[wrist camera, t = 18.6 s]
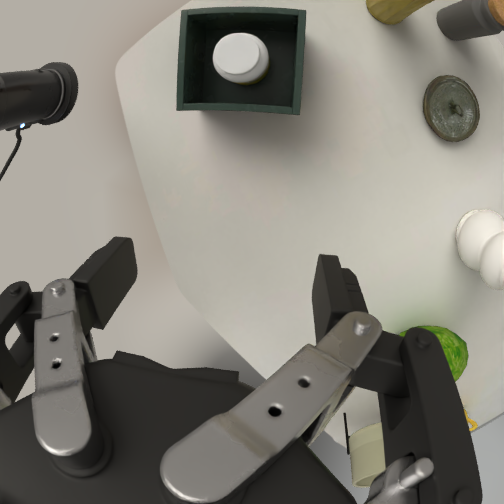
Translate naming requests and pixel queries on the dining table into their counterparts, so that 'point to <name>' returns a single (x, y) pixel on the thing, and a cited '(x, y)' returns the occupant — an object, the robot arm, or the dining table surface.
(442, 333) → the lettuce
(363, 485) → the planter
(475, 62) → the dining table surface
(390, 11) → the vase
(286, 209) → the dining table surface
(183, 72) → the open box
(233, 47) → the pill bottle
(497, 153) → the dining table surface
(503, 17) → the bottle
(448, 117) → the lid
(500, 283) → the vase
